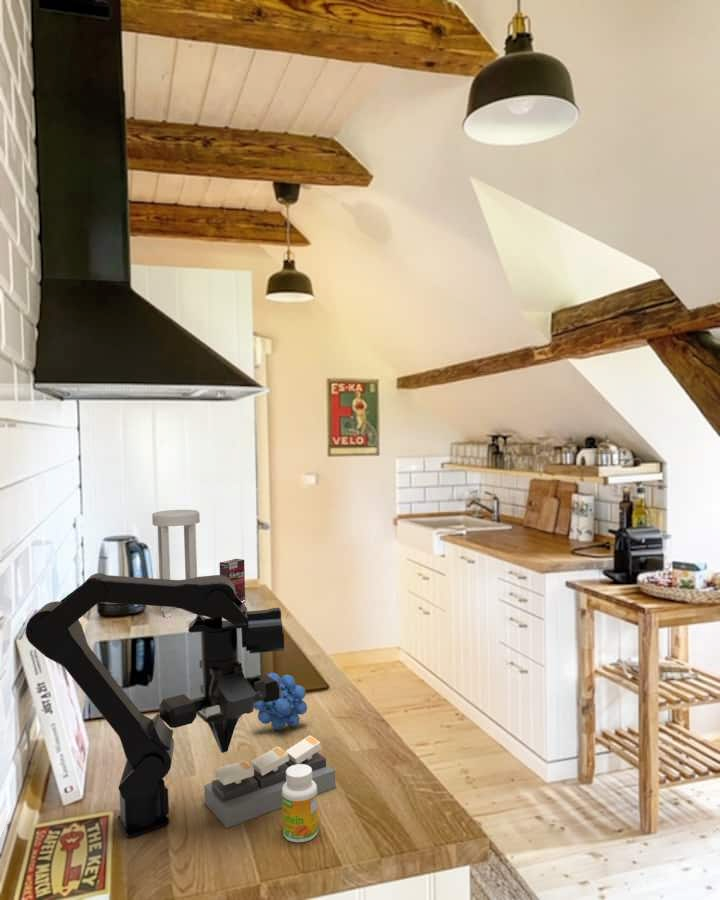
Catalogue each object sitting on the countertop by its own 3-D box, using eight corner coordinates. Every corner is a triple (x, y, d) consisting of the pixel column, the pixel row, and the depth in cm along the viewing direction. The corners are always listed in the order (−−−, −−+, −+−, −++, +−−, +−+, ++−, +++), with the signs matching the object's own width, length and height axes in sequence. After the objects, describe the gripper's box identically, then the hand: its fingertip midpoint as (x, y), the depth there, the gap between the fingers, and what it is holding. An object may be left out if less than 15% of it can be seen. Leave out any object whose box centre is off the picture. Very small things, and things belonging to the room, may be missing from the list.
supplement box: (229, 608, 242) (228, 563, 241) (219, 606, 244) (218, 562, 244) (246, 602, 249) (245, 559, 249) (236, 601, 252) (235, 558, 251)
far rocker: (298, 767, 116) (295, 758, 116) (288, 759, 119) (285, 750, 119) (323, 751, 119) (320, 741, 118) (312, 743, 122) (309, 734, 121)
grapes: (255, 743, 135) (254, 683, 134) (250, 729, 141) (248, 672, 141) (313, 733, 138) (311, 675, 138) (304, 720, 145) (303, 664, 144)
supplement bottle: (276, 839, 102) (274, 775, 102) (292, 820, 107) (290, 759, 107) (309, 846, 100) (307, 781, 100) (324, 826, 105) (322, 764, 105)
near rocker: (224, 788, 108) (223, 777, 108) (215, 779, 111) (215, 768, 111) (253, 779, 111) (253, 768, 111) (244, 770, 114) (244, 759, 114)
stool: (158, 619, 228) (155, 515, 227) (153, 609, 242) (150, 511, 242) (205, 614, 234) (202, 512, 233) (197, 604, 248) (194, 508, 248)
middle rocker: (262, 778, 112) (260, 768, 112) (253, 770, 115) (251, 760, 115) (290, 763, 115) (287, 753, 115) (280, 755, 118) (277, 745, 118)
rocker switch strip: (226, 828, 106) (225, 800, 106) (204, 803, 113) (203, 777, 113) (335, 787, 117) (334, 762, 117) (309, 767, 124) (308, 743, 124)
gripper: (181, 683, 98) (185, 791, 98) (295, 655, 108) (298, 753, 109) (156, 663, 107) (160, 761, 107) (263, 639, 117) (267, 729, 118)
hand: (223, 751), depth 110 cm, fingers closed
